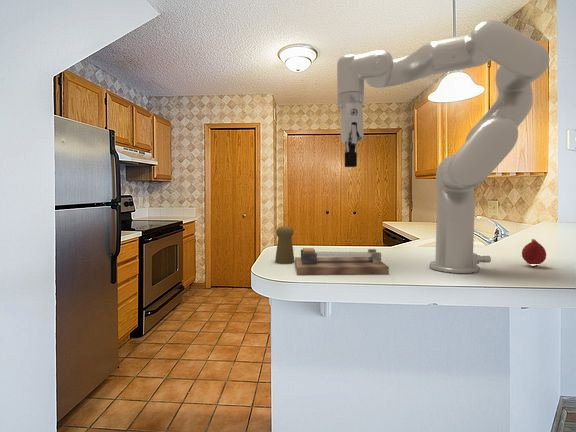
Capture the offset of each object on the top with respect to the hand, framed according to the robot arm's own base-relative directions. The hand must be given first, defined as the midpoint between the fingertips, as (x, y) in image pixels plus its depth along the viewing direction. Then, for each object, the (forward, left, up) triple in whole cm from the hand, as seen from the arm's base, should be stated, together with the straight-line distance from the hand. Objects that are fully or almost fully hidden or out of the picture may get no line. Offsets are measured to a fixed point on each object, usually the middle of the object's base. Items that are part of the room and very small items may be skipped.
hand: (350, 166), depth 106 cm
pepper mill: (+19, -5, -29) cm, 35 cm away
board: (+4, +5, -29) cm, 29 cm away
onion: (-52, +4, -29) cm, 60 cm away
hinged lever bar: (+4, +5, -25) cm, 26 cm away
